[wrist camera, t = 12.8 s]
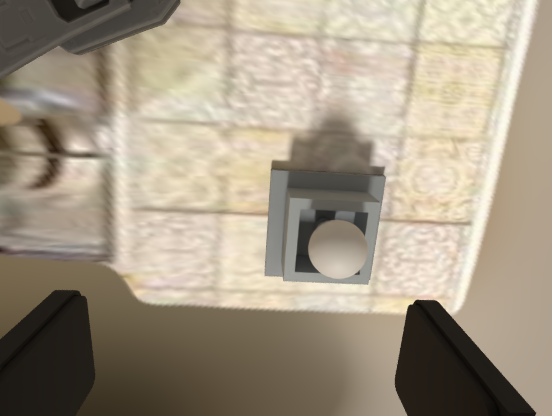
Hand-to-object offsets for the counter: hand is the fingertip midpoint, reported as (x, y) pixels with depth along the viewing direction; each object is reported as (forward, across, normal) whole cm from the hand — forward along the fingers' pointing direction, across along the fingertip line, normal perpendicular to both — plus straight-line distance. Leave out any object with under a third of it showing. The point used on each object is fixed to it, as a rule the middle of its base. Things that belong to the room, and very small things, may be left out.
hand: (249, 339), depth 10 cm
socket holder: (+34, -8, +8) cm, 36 cm away
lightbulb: (+33, -8, +8) cm, 35 cm away
